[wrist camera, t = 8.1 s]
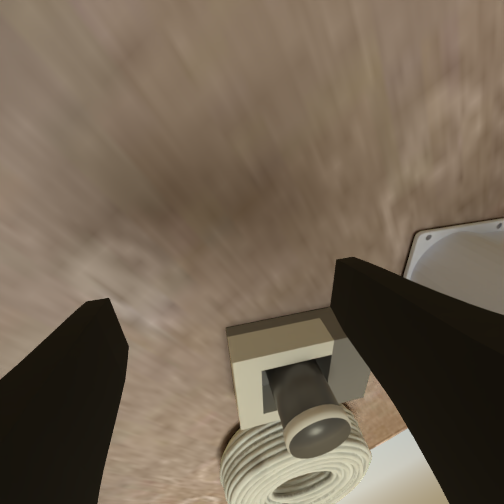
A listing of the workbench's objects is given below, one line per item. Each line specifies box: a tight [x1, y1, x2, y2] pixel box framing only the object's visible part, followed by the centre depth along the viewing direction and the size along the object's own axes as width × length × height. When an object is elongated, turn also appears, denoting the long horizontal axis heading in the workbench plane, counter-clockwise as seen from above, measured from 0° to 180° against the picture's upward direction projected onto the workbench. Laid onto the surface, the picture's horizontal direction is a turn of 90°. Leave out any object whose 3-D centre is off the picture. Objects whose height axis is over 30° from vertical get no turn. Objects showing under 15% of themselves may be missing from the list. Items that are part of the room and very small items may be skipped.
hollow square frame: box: [226, 307, 371, 430], centre depth 23 cm, size 12×9×4 cm
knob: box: [265, 359, 351, 459], centre depth 21 cm, size 5×5×7 cm
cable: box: [220, 403, 372, 504], centre depth 31 cm, size 18×18×6 cm
